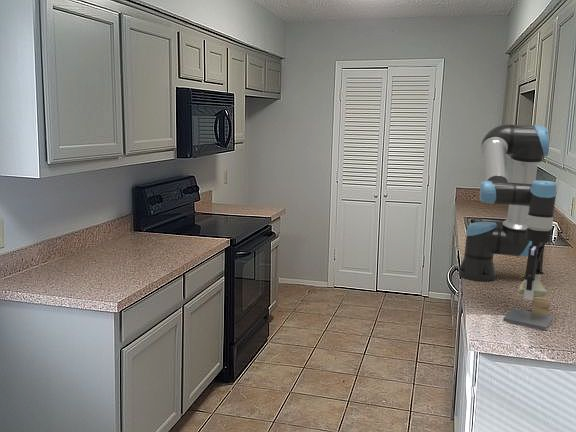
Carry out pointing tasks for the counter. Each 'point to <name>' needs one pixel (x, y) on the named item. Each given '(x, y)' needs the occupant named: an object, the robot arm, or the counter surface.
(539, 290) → the seashell
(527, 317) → the plate
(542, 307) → the oak block
